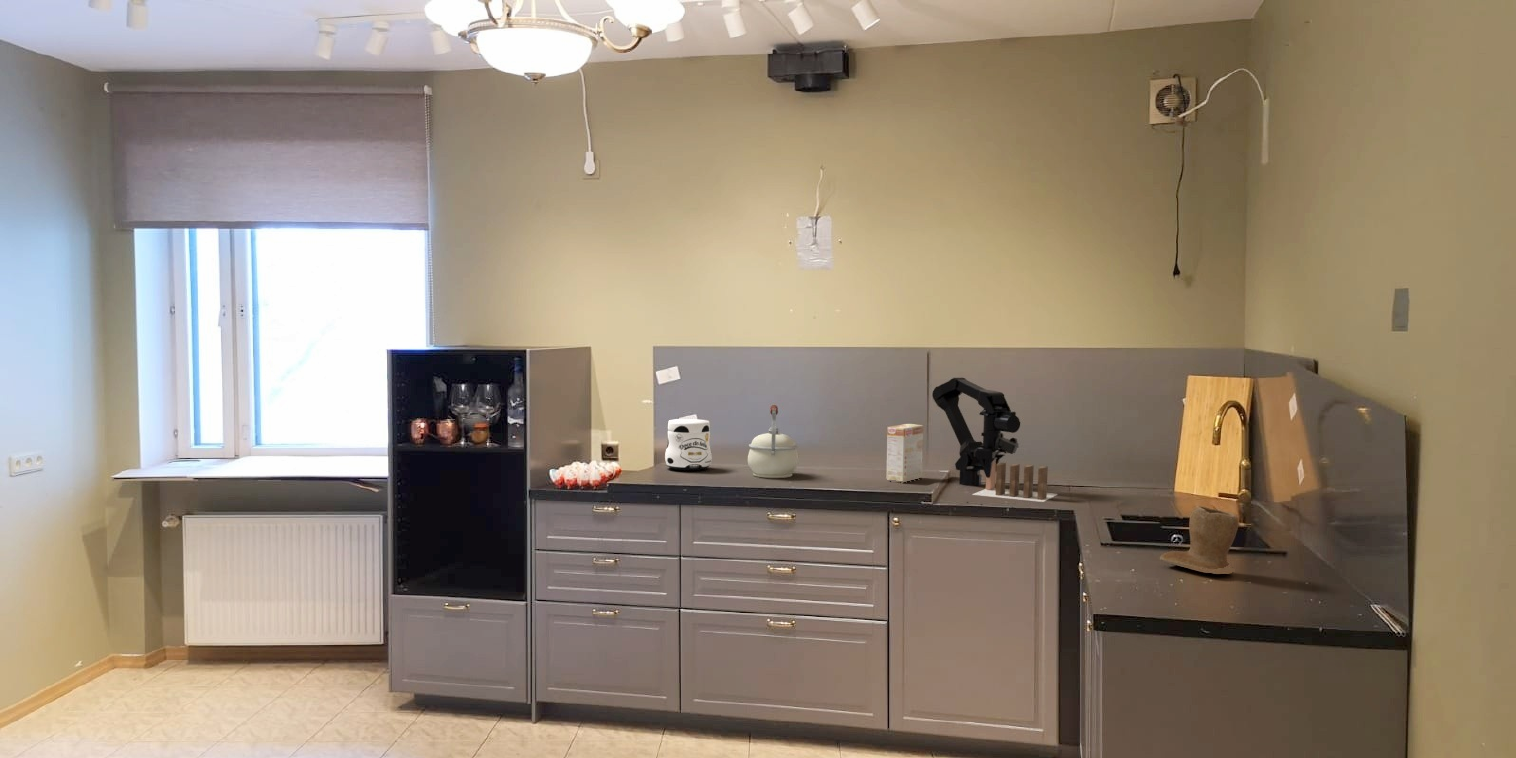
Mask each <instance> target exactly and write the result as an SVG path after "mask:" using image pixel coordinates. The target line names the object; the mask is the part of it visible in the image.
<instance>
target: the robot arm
mask: <svg viewBox="0 0 1516 758" xmlns="http://www.w3.org/2000/svg"><path fill="white" fill-rule="evenodd" d="M962 394H965V395H966V396H968V397H970V398H971V399H974V400H976V401H977V404H978V405H979V406H980V407H981V408H982V409H983V410H982V411H980V412H979V416H983V430H982V432H981V435H980V436H981V437H982V441H976V440H975V439H974V437H973V434H972V433H971V431H970V428H969V427H968V424H967V422H966V420H965V418H964V415H963V412H962V411H961V409H960V407H959V402H960V397H959V396H961V395H962ZM931 396H932V400H933V402H934V403H935V404H936V405H937V407H939V408H940V409H941V410H943V411H944V413H945V414H946V417H947V419H948V422H949V423H950V426H951V428H952V431H953V432H954V435H955V437H956V439H957V441H958V444H959V445H960V446H959V458H958V459H957V461H956V462H955V463H954V466H955V470H956V471H959V485H961V486H967V487H980V486H982V477H983V476H982V474H981V471H983V473H984V474H985V478H986V477H987V478H990V475H991V470H992V464H993V461H994V460H996V464H998V463H1000V460H1001V459H1003V458H1004V457H1005V456H1006V454H1010V455H1013V454H1015V453H1016V452H1017V449H1018V448H1019V447H1020V446H1019V443H1018V438H1015V437H1011V438H1010V439H1009V438H1005V437H1004V433H1003V432H1006V433H1012V434H1013V433H1018V431H1019V430H1020V427H1021V421H1020V417H1018V416H1017V412H1016V411H1011V408H1010V405H1009V404H1008V401H1007V400H1006V397H1005V394H1004V393H1003V392H1001V391H998V390H991V389H986V388H984V387H981V386H980V385H978V384H975V383H973V382H971V381H969V380H967V378H965V377H952V378H951V379H949V380H948V381H946V382H944V383H941V384H939V385H938V386H935V387H934V389H933V391H932V395H931ZM1002 453H1003V454H1002ZM995 475H996V473H995Z"/></svg>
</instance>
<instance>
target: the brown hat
mask: <svg viewBox="0 0 1516 758" xmlns="http://www.w3.org/2000/svg"><path fill="white" fill-rule="evenodd" d="M1239 522H1240V521H1239V518H1238V516H1237V515H1236V514H1234V513H1231V512H1227V511H1224V510H1219V509H1215V508H1210V507H1206V506H1201V505H1197V506H1195V507H1193V509H1192V511H1191V513H1190V516H1189V523H1188V524H1189V525H1188V526H1189V527H1188V529H1189V530H1188V531H1189V539H1190V540H1189V541H1190V548H1189V550H1187V551H1185V550H1184V551H1177V550H1171V551H1168V552H1165V553H1163V554H1161V555H1160V557H1159V560H1160V561H1161V560H1164V561H1168V562H1173V563H1177V564H1184V565H1190V566H1194V567H1199V568H1207V569H1218V568H1224V567H1226V566H1228V565H1229V564H1230V563H1229V562H1228V560H1227V559H1228V553H1229V551H1230V549H1231V547H1232V546H1233V543H1234V540H1235V539H1236V535H1237V533H1238V532H1237V531H1238V528H1239V525H1240V524H1239Z"/></svg>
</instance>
